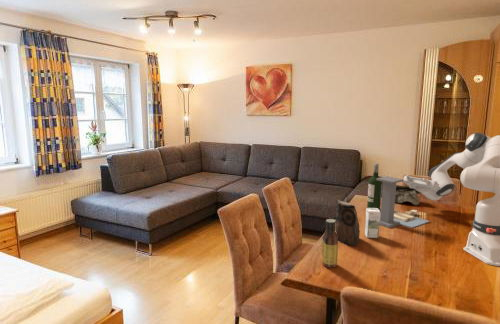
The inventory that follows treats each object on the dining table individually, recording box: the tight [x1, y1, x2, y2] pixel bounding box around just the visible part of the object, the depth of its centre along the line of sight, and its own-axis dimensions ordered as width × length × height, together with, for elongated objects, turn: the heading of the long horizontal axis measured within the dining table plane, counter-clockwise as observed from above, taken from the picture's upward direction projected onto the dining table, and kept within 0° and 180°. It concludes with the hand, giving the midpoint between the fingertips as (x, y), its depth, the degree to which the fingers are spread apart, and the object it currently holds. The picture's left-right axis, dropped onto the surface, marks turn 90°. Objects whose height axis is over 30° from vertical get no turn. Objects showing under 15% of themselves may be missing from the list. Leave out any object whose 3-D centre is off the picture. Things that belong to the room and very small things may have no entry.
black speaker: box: [334, 199, 361, 247], centre depth 163 cm, size 13×13×20 cm
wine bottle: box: [366, 162, 383, 211], centre depth 211 cm, size 8×8×30 cm
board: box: [394, 209, 419, 222], centre depth 198 cm, size 20×10×2 cm, turn 123°
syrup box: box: [364, 207, 381, 239], centre depth 168 cm, size 6×6×14 cm
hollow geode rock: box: [381, 184, 422, 206], centre depth 228 cm, size 28×13×15 cm
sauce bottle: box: [321, 218, 339, 269], centre depth 138 cm, size 6×6×20 cm
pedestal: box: [376, 175, 403, 229], centre depth 185 cm, size 10×10×26 cm
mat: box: [380, 210, 430, 229], centre depth 195 cm, size 18×24×1 cm
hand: (414, 177), depth 197 cm, fingers open, 8 cm apart
